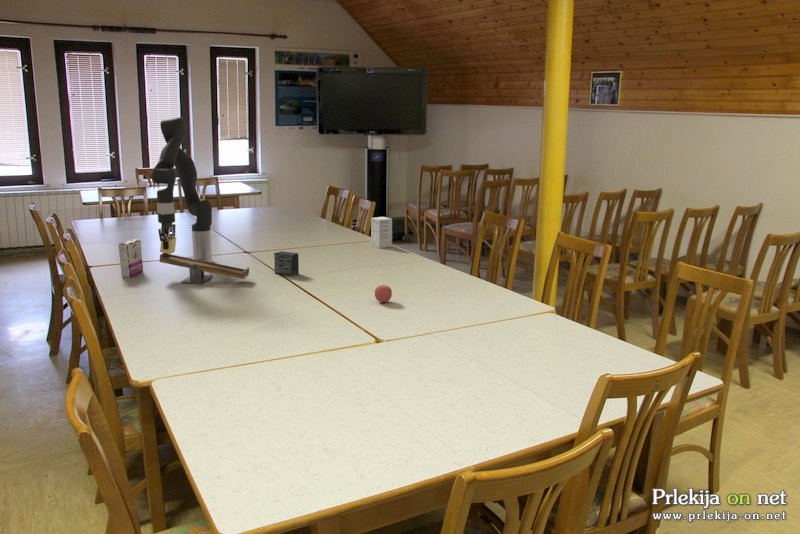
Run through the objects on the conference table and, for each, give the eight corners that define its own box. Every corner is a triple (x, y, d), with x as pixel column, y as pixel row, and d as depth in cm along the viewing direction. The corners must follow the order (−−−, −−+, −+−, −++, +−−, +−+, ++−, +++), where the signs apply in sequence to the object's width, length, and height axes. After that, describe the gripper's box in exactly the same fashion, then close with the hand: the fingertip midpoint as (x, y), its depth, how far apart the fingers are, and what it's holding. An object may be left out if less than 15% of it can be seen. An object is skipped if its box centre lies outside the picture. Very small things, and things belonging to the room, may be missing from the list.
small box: (299, 273, 335) (299, 252, 333) (292, 276, 330) (291, 255, 327) (281, 270, 340) (281, 250, 337) (274, 273, 334) (273, 252, 331)
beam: (166, 258, 322) (167, 251, 321) (248, 274, 321) (249, 267, 320) (159, 261, 314) (160, 254, 313) (243, 279, 313) (244, 271, 312)
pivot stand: (192, 276, 326) (191, 257, 324) (212, 276, 325) (212, 258, 323) (181, 283, 313) (180, 264, 310) (202, 284, 312) (201, 265, 310)
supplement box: (392, 246, 400) (392, 218, 396) (379, 248, 395) (379, 219, 391) (383, 243, 408) (384, 216, 404) (370, 245, 403) (370, 217, 399)
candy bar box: (134, 271, 332) (131, 238, 328) (143, 272, 331) (141, 239, 327) (120, 277, 322) (117, 243, 318) (130, 278, 321) (127, 243, 317)
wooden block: (164, 249, 320) (166, 235, 318) (174, 251, 319) (176, 237, 318) (159, 251, 315) (161, 237, 313) (170, 254, 315) (171, 239, 313)
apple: (375, 299, 295) (375, 281, 293) (392, 299, 295) (392, 282, 293) (373, 304, 288) (374, 286, 286) (391, 304, 287) (391, 286, 285)
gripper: (164, 209, 320) (167, 244, 324) (151, 214, 306) (153, 251, 310) (180, 209, 319) (182, 245, 323) (167, 214, 305) (169, 251, 309)
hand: (168, 248), depth 317 cm, fingers closed on wooden block, 5 cm apart
